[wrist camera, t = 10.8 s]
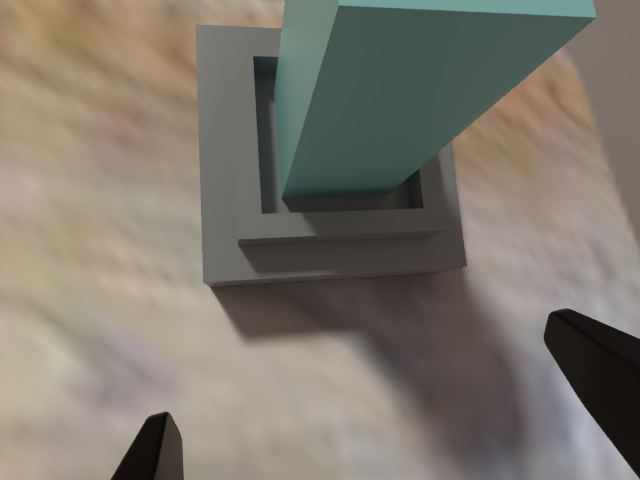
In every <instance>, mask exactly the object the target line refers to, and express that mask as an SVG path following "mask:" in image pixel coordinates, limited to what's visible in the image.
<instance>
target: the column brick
mask: <svg viewBox="0 0 640 480" xmlns="http://www.w3.org/2000/svg"><path fill="white" fill-rule="evenodd" d="M595 18H596V14H595V9H594V4H593V0H285V6H284V15H283V23H282V31H281V39H280V48H279V56H278V64H277V73H276V81H275V89H274V105H275V119H276V132H277V146H278V159H279V173H280V186H281V199H292V198H317V197H343V196H368V195H388V194H389V193H390V192H392V191H393V190H394V189H395V188H396V187H397V186H399V185H400V184H401V183H402V182H403V181H405V180H406V179H407V178H408V177H409V176H410V175H412V174H413V173H414V172H415V171H416V170H418V169H419V168H420V167H421V166H422V165H423V164H425V163H426V162H427V161H428V160H429V159H430V158H432V157H433V156H434V155H435V154H436V153H438V152H439V151H440V150H441V149H442V148H443V147H445V146H446V145H447V144H448V143H449V142H450V141H452V140H453V139H454V138H455V137H456V136H458V135H459V134H460V133H461V132H462V131H463V130H465V129H466V128H467V127H468V126H469V125H470V124H472V123H473V122H474V121H475V120H476V119H478V118H479V117H480V116H481V115H482V114H483V113H485V112H486V111H487V110H488V109H489V108H491V107H492V106H493V105H494V104H495V103H496V102H498V101H499V100H500V99H501V98H502V97H503V96H505V95H506V94H507V93H508V92H509V91H511V90H512V89H513V88H514V87H515V86H516V85H518V84H519V83H520V82H521V81H522V80H523V79H525V78H526V77H527V76H528V75H529V74H531V73H532V72H533V71H534V70H535V69H536V68H538V67H539V66H540V65H541V64H542V63H543V62H545V61H546V60H547V59H548V58H549V57H551V56H552V55H553V54H554V53H555V52H556V51H558V50H559V49H560V48H561V47H562V46H563V45H565V44H566V43H567V42H568V41H569V40H571V39H572V38H573V37H574V36H575V35H576V34H578V33H579V32H580V31H581V30H582V29H583V28H585V27H586V26H587V25H588V24H589V23H591V22H592V21H593V20H594V19H595Z"/></svg>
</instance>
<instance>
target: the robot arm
mask: <svg viewBox="0 0 640 480" xmlns="http://www.w3.org/2000/svg"><path fill="white" fill-rule="evenodd" d="M544 341H545V344H546V346H547V348H548V350H549V351H550V353H551V354H552V356H553V358H554V359H555V361H556V362H557V364H558V366H559V367H560V369H561V371H562V372H563V374H564V375H565V377H566V379H567V380H568V382H569V383H570V385H571V387H572V388H573V390H574V391H575V393H576V395H577V396H578V398H579V399H580V401H581V402H582V403H583V405H584V406H585V408H586V409H587V410H588V412H589V413H590V414H591V416H592V417H593V418H594V420H595V421H596V422H597V424H598V425H599V426H600V427H601V429H602V430H603V431H604V433H605V434H606V435H607V437H608V438H609V439H610V441H611V442H612V443H613V445H614V446H615V447H616V448H617V450H618V451H619V452H620V454H621V455H622V456H623V458H624V459H625V460H626V462H627V463H628V464H629V466H630V467H631V468H632V469H633V471H634V472H635V473H636V475H637V476H638V477H639V479H640V339H639V338H636V337H634V336H632V335H629V334H627V333H625V332H622V331H620V330H618V329H615V328H613V327H611V326H608V325H606V324H604V323H601V322H599V321H597V320H595V319H592V318H590V317H588V316H585V315H583V314H581V313H578V312H576V311H574V310H571V309H561V310H557V311H553V312H551V313H550V314H549V316H548V320H547V324H546V328H545V332H544ZM111 480H184V475H183V449H182V438H181V434H180V432H179V430H178V428H177V426H176V424H175V422H174V420H173V418H172V416H171V414H170V413H169V412H162V413H158V414H154V415H151V416H149V417H148V418H147V419H146V421H145V422H144V424H143V426H142V428H141V429H140V431H139V433H138V434H137V436H136V438H135V439H134V441H133V443H132V444H131V446H130V448H129V449H128V451H127V453H126V454H125V456H124V458H123V459H122V461H121V463H120V465H119V466H118V468H117V470H116V471H115V473H114V475H113V476H112V478H111Z"/></svg>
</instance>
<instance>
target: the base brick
mask: <svg viewBox="0 0 640 480" xmlns="http://www.w3.org/2000/svg"><path fill="white" fill-rule="evenodd" d="M281 31H282V29H279V28H257V27H236V26H214V25H196V52H197V85H198V118H199V151H200V185H201V218H202V251H203V282H204V283H205V284H206V285H208V286H209V287H218V286H233V285H249V284H264V283H280V282H295V281H311V280H326V279H342V278H357V277H373V276H388V275H404V274H419V273H435V272H442V271H446V270H451V269H456V268H460V267H465V266H467V264H466V257H465V249H464V242H463V234H462V227H461V219H460V212H459V204H458V197H457V190H456V182H455V175H454V167H453V160H452V152H451V145H450V142H449V143H448V144H447V145H446V146H445V147H443V148H442V149H441V150H440V151H439V152H438V153H436V154H435V155H434V156H433V157H432V158H430V159H429V160H428V161H427V162H426V163H425V164H423V165H422V166H421V167H420V168H419V169H418V170H416V171H415V172H414V173H413V174H412V175H410V176H409V177H408V178H407V179H406V180H405V181H403V182H402V183H401V184H400V185H399V186H397V187H396V188H395V189H394V190H393V191H392V192H390V193H389V194H388V195H368V196H343V197H317V198H292V199H281V186H280V173H279V159H278V146H277V132H276V119H275V105H274V89H275V81H276V73H277V64H278V56H279V48H280V39H281Z"/></svg>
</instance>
